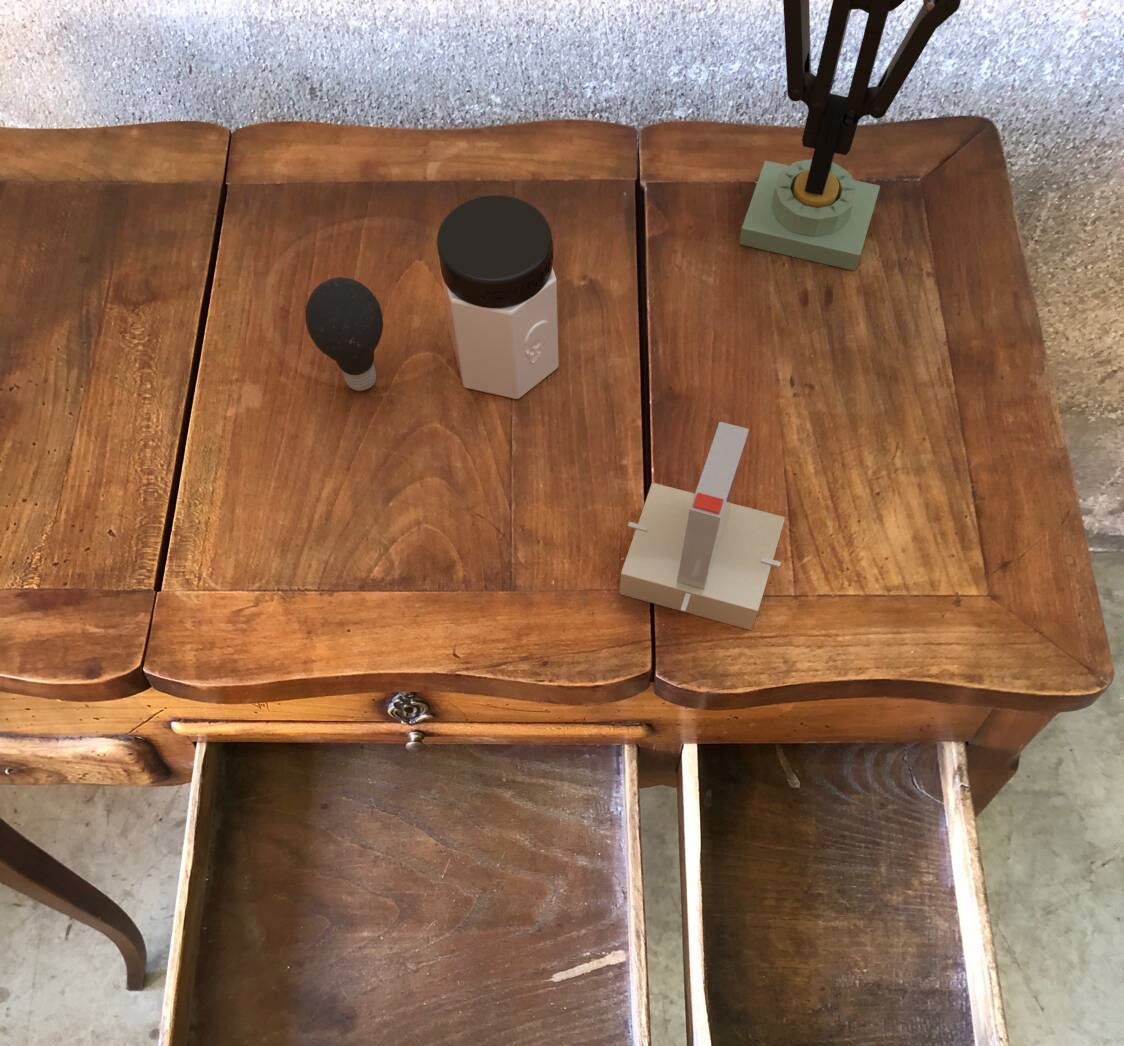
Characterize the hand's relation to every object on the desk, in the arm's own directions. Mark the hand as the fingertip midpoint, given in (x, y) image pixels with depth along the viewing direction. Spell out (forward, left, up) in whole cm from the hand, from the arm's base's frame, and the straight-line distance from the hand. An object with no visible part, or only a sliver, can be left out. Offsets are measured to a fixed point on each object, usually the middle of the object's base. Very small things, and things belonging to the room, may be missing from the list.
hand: (817, 181), depth 85 cm
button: (0, 0, -2) cm, 2 cm away
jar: (+20, +21, -4) cm, 29 cm away
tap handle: (0, +35, -1) cm, 35 cm away
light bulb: (+30, +27, -4) cm, 41 cm away
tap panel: (0, +35, -4) cm, 35 cm away
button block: (0, 0, -4) cm, 4 cm away
